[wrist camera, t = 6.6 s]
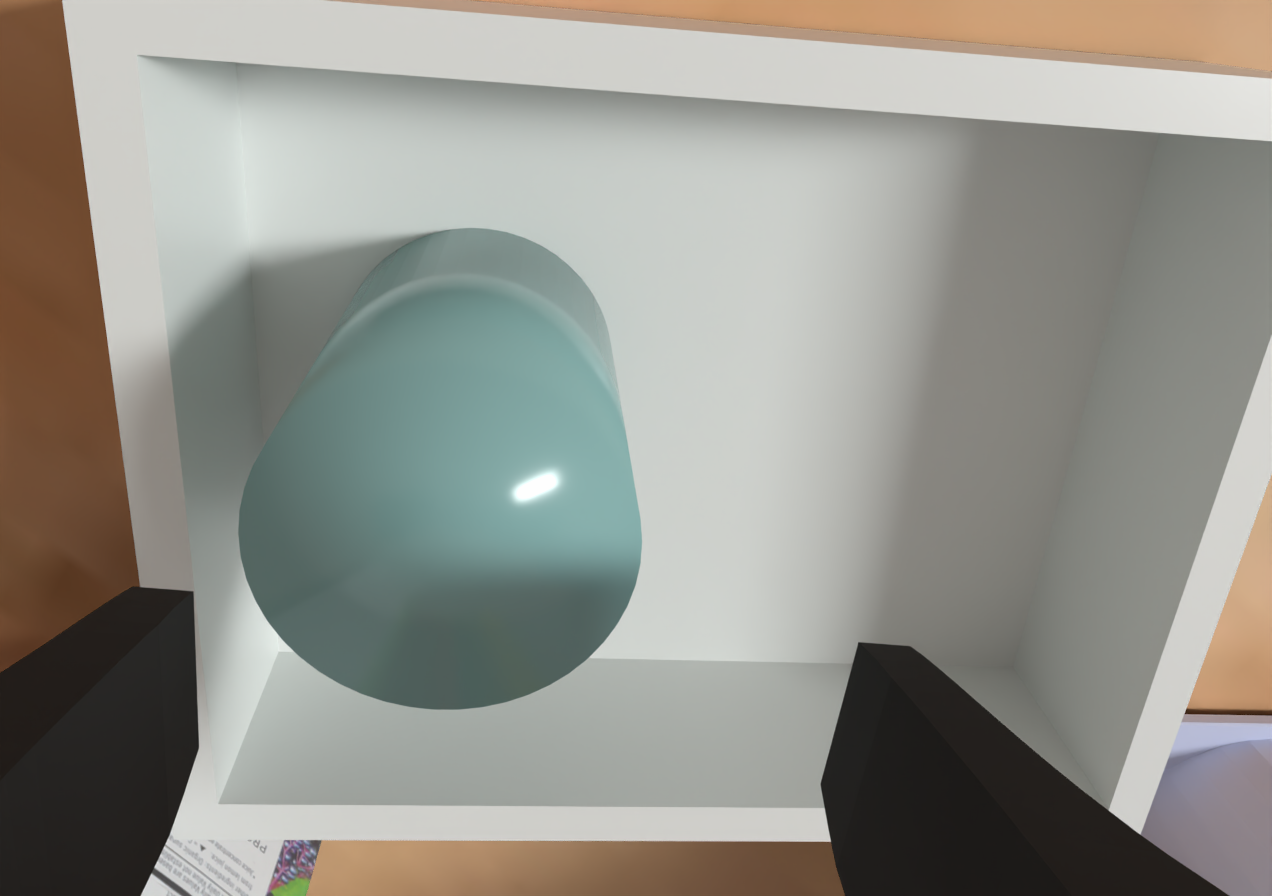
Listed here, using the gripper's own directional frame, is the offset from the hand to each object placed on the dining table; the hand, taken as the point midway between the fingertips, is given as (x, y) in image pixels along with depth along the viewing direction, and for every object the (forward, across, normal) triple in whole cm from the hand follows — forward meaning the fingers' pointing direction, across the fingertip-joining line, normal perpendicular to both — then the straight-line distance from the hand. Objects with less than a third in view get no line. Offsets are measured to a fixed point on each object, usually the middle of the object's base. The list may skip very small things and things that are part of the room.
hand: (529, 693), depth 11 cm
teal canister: (+9, +1, 0) cm, 9 cm away
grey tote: (+10, -3, 0) cm, 10 cm away
